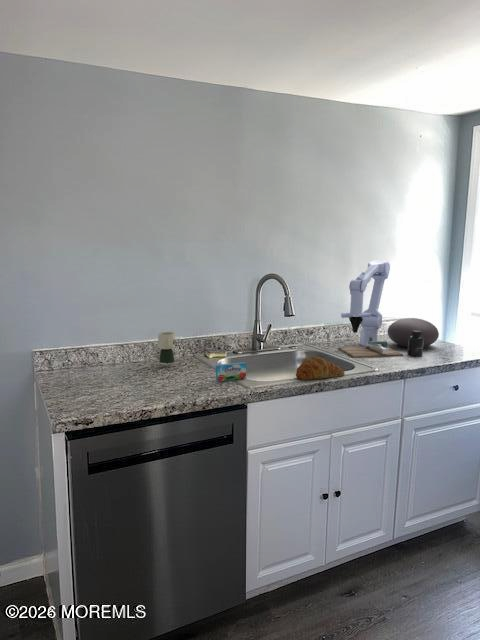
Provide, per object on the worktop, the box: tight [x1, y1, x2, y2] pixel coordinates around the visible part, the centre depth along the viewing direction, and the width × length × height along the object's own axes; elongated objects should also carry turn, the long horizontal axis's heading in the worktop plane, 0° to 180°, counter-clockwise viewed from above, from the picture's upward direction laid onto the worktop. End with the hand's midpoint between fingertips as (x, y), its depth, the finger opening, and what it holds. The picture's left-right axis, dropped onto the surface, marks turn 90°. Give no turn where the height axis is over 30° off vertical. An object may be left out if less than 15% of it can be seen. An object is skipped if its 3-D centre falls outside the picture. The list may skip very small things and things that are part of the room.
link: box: [367, 337, 388, 354], centre depth 226 cm, size 15×4×5 cm, turn 14°
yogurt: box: [215, 361, 247, 383], centre depth 177 cm, size 12×2×6 cm, turn 114°
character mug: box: [157, 331, 176, 365], centre depth 199 cm, size 11×7×13 cm, turn 19°
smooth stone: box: [387, 317, 440, 348], centre depth 240 cm, size 25×25×15 cm
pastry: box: [295, 355, 345, 381], centre depth 184 cm, size 21×13×8 cm, turn 115°
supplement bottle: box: [406, 330, 424, 358], centre depth 220 cm, size 7×7×12 cm
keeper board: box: [338, 340, 404, 359], centre depth 226 cm, size 18×25×5 cm
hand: (355, 332), depth 228 cm, fingers closed
